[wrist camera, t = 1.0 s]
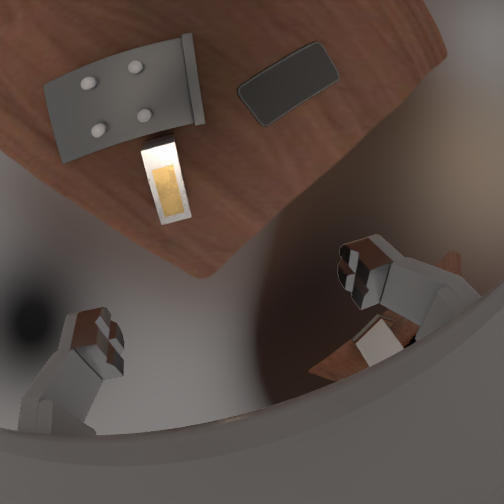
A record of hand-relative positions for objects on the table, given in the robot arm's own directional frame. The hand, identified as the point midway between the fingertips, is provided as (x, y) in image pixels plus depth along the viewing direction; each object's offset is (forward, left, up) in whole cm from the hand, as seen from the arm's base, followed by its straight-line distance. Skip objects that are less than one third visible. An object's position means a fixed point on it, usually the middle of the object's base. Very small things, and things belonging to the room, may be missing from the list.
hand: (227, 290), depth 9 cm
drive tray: (-7, -7, -31) cm, 32 cm away
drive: (+5, -3, -31) cm, 31 cm away
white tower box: (+65, +43, -31) cm, 84 cm away
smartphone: (-5, +16, -31) cm, 35 cm away
